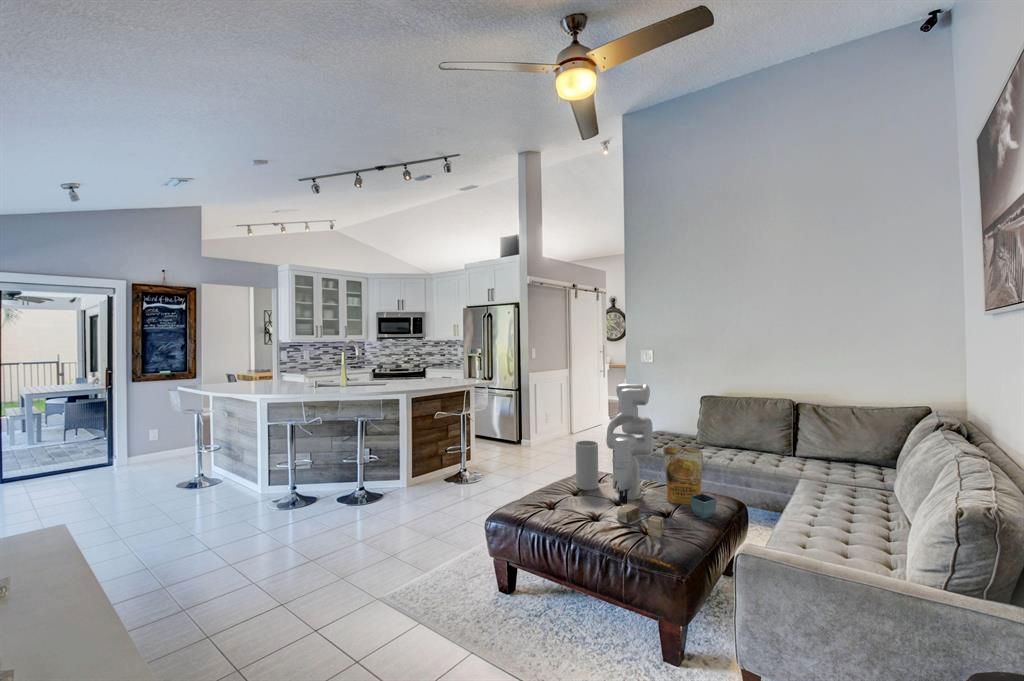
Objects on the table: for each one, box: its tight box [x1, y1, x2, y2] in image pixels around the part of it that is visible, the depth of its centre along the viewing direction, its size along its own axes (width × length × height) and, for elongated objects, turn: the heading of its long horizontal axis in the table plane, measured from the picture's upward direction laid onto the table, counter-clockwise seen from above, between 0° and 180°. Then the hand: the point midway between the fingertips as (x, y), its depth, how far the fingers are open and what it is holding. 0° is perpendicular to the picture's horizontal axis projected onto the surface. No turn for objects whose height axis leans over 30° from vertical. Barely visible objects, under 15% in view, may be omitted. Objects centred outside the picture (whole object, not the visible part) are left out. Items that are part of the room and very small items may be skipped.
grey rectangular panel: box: [614, 513, 647, 525], centre depth 231 cm, size 12×9×1 cm
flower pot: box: [690, 493, 718, 519], centre depth 230 cm, size 9×9×9 cm
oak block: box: [647, 515, 664, 538], centre depth 213 cm, size 5×5×7 cm
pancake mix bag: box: [662, 446, 704, 506], centre depth 248 cm, size 7×19×28 cm, turn 69°
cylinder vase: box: [575, 440, 600, 491], centre depth 274 cm, size 12×12×25 cm
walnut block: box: [616, 503, 640, 524], centre depth 229 cm, size 5×5×10 cm
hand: (623, 503), depth 227 cm, fingers closed
